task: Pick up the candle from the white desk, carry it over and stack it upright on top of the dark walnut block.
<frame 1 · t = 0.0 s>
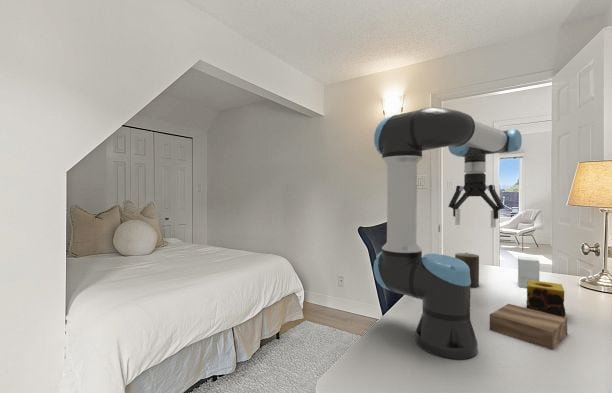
hand: (474, 226, 122), 28 cm above the table, tool pointing down, fingers open, 13 cm apart
walnut block: (527, 333, 90), on the table
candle: (545, 314, 103), on the table
supplement box: (528, 287, 135), on the table
pillar candle: (466, 285, 137), on the table
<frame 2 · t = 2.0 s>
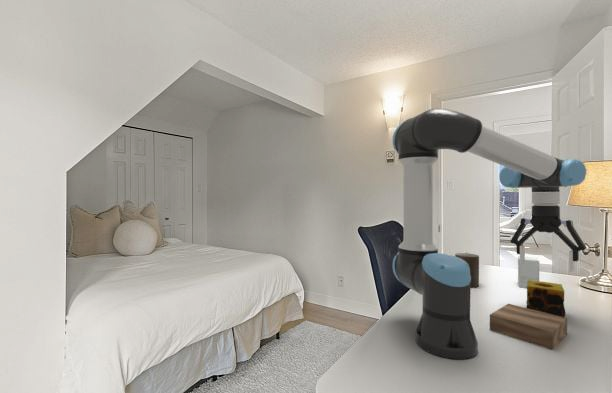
hand: (545, 267, 103), 16 cm above the table, tool pointing down, fingers open, 13 cm apart
nothing on the table moved.
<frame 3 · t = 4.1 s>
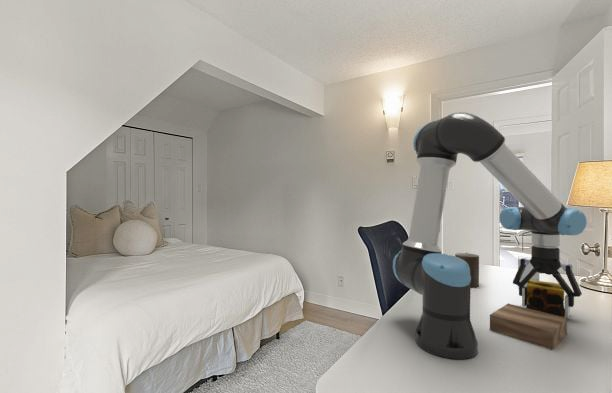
hand: (545, 310, 103), 1 cm above the table, tool pointing down, fingers closed on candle, 11 cm apart
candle: (544, 314, 103), on the table, touching gripper
everything else where it was.
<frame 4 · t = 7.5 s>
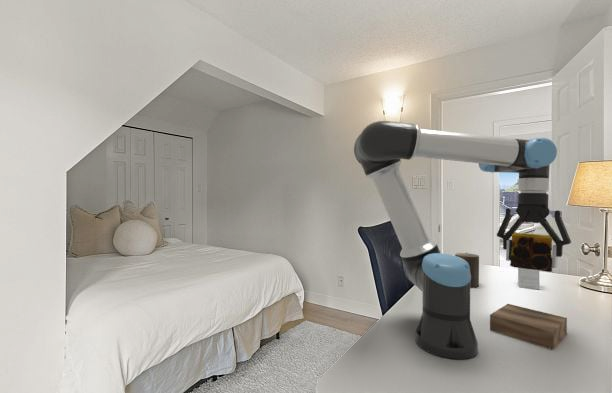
hand: (530, 263, 94), 19 cm above the table, tool pointing down, fingers closed on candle, 11 cm apart
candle: (530, 267, 94), point 18 cm above the table, touching gripper
everything else where it was.
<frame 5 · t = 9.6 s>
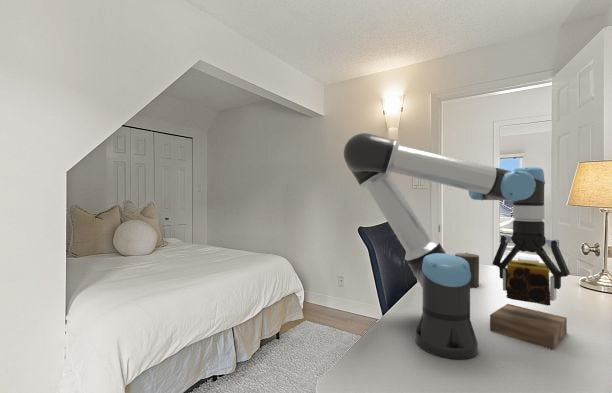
hand: (528, 294, 90), 11 cm above the table, tool pointing down, fingers closed on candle, 11 cm apart
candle: (528, 298, 90), point 10 cm above the table, touching gripper
everything else where it was.
when the fingers open (7 cm above the table, at t = 11.3 s): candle drops 2 cm, resting on walnut block.
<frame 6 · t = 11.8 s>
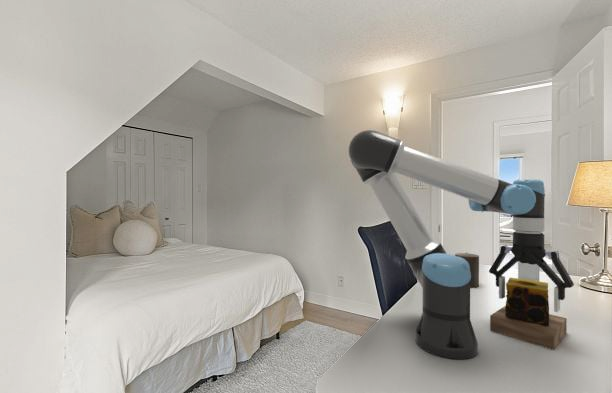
hand: (527, 303, 90), 8 cm above the table, tool pointing down, fingers open, 13 cm apart
walnut block: (527, 333, 90), on the table, touching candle
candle: (527, 317, 89), point 4 cm above the table, touching walnut block
everything else where it was.
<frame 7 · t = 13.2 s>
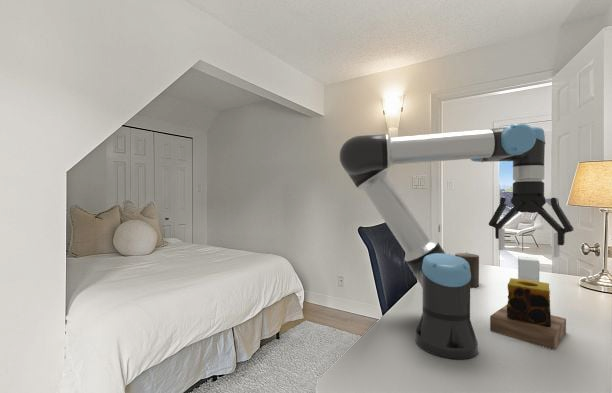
hand: (527, 253, 90), 23 cm above the table, tool pointing down, fingers open, 13 cm apart
nothing on the table moved.
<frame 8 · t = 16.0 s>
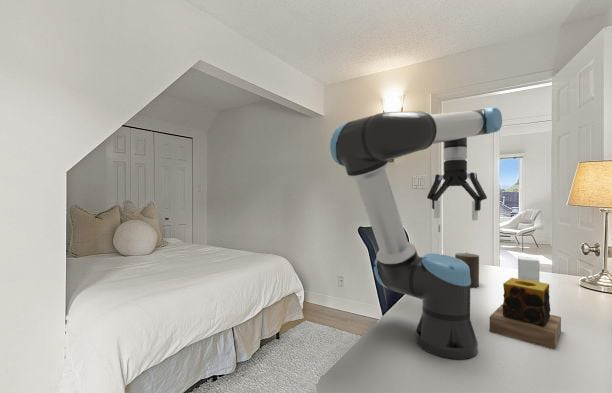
hand: (455, 219, 109), 32 cm above the table, tool pointing down, fingers open, 13 cm apart
at the end: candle 0.3 cm off-centre on the walnut block, point 4.8 cm above the walnut block's base; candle tilted 0°; the gripper is holding nothing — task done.
